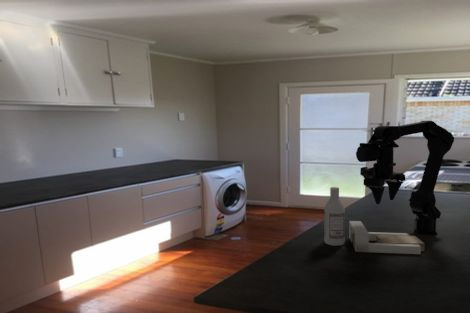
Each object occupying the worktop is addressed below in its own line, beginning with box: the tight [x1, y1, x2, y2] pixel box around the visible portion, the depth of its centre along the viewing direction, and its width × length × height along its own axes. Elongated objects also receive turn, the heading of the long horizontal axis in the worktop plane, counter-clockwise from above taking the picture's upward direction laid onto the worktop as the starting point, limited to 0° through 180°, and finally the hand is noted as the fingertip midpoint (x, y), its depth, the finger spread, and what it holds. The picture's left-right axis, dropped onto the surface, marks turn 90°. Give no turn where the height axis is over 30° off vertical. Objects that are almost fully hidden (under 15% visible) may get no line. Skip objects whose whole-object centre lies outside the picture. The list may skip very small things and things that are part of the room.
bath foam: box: [323, 186, 346, 247], centre depth 123 cm, size 7×7×20 cm
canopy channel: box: [348, 220, 422, 255], centre depth 120 cm, size 20×14×6 cm
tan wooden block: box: [375, 235, 425, 252], centre depth 119 cm, size 13×8×3 cm, turn 83°
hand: (384, 202), depth 128 cm, fingers open, 9 cm apart
